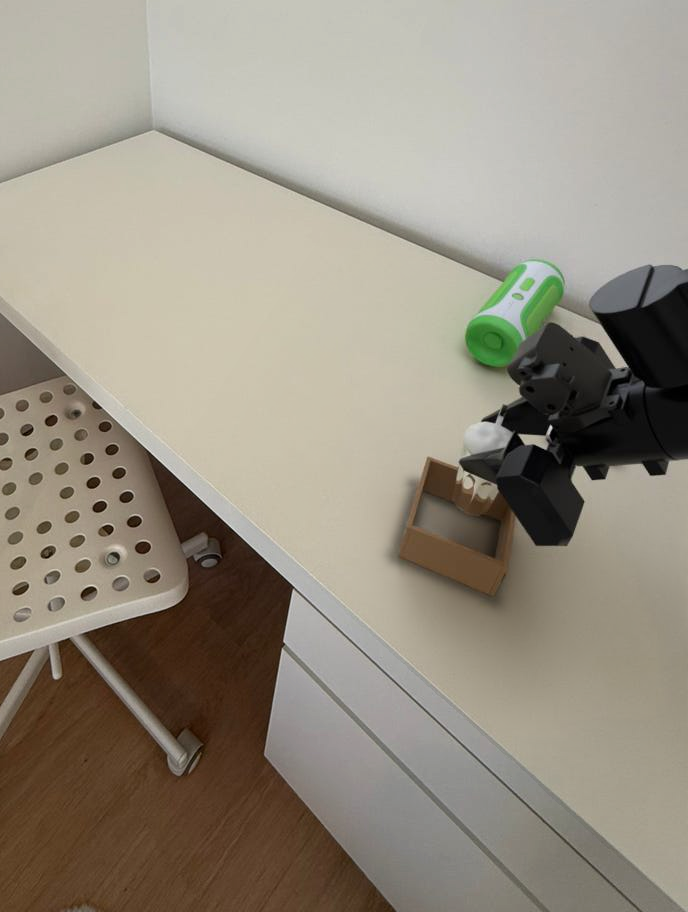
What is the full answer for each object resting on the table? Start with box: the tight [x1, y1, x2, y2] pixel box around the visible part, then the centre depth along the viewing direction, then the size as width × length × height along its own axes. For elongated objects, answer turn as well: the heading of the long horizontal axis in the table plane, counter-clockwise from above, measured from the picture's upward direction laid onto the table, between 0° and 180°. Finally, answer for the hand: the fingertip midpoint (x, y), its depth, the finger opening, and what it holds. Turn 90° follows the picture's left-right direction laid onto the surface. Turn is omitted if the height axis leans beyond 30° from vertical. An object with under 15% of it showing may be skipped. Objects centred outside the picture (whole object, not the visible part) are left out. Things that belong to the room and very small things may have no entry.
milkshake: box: [452, 403, 512, 517], centre depth 59 cm, size 5×5×10 cm
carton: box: [397, 456, 517, 597], centre depth 64 cm, size 9×9×5 cm
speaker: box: [464, 258, 566, 368], centre depth 87 cm, size 18×7×8 cm, turn 139°
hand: (473, 444), depth 59 cm, fingers closed on milkshake, 5 cm apart
